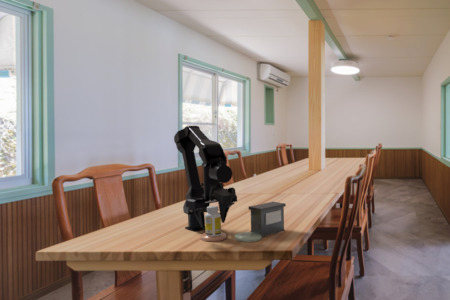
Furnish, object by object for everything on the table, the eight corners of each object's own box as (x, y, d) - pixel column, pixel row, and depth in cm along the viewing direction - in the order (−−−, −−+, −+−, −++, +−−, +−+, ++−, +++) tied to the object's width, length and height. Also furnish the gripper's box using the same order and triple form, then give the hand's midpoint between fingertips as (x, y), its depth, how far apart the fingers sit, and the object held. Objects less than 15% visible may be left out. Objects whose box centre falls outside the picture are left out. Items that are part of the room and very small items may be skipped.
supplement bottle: (221, 232, 132) (220, 205, 131) (221, 236, 126) (220, 208, 126) (205, 233, 131) (204, 205, 131) (205, 237, 126) (204, 208, 126)
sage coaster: (229, 238, 128) (229, 235, 128) (248, 233, 134) (248, 230, 134) (248, 243, 121) (248, 240, 121) (266, 238, 127) (266, 235, 127)
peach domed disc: (195, 238, 129) (195, 235, 129) (215, 233, 135) (214, 230, 135) (211, 243, 122) (211, 240, 122) (231, 237, 128) (231, 235, 128)
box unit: (249, 234, 132) (248, 206, 131) (273, 228, 140) (273, 201, 140) (261, 237, 127) (260, 208, 127) (286, 230, 136) (285, 203, 135)
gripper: (204, 184, 116) (206, 234, 116) (247, 179, 128) (248, 224, 129) (184, 182, 124) (185, 228, 125) (226, 176, 136) (227, 219, 137)
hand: (212, 225), depth 129 cm, fingers open, 9 cm apart
